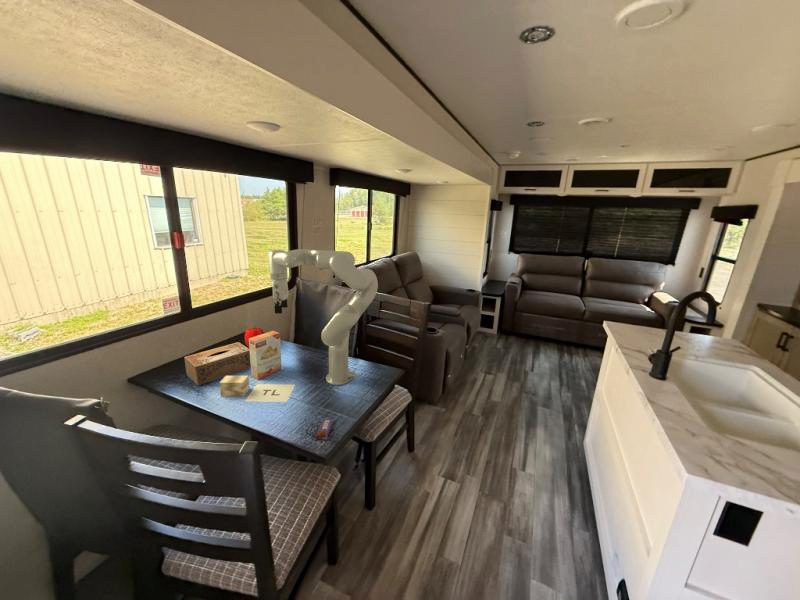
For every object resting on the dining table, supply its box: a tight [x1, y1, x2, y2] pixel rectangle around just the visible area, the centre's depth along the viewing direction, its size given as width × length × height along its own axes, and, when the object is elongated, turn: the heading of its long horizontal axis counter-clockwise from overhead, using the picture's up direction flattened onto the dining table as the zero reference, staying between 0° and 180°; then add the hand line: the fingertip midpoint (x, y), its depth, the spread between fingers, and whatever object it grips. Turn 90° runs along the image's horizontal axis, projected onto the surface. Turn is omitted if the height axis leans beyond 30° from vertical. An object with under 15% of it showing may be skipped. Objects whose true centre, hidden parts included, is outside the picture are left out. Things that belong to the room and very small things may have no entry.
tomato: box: [244, 326, 265, 348], centre depth 182 cm, size 12×12×13 cm
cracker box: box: [248, 330, 282, 380], centre depth 154 cm, size 14×6×21 cm, turn 148°
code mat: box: [244, 383, 296, 403], centre depth 140 cm, size 18×14×1 cm
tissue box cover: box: [184, 341, 251, 386], centre depth 155 cm, size 26×14×10 cm, turn 141°
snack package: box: [313, 418, 336, 441], centre depth 118 cm, size 12×2×5 cm
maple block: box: [219, 375, 250, 397], centre depth 138 cm, size 10×6×7 cm, turn 95°
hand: (281, 310), depth 150 cm, fingers open, 9 cm apart
